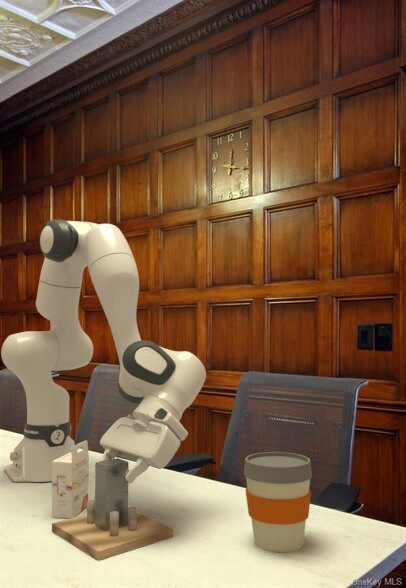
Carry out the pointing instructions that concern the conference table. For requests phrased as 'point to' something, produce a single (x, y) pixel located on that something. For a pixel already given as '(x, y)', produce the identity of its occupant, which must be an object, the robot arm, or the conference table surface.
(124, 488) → the plate
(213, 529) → the conference table surface
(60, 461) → the ink cartridge box
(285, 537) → the reusable coffee cup
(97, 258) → the robot arm
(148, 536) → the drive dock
